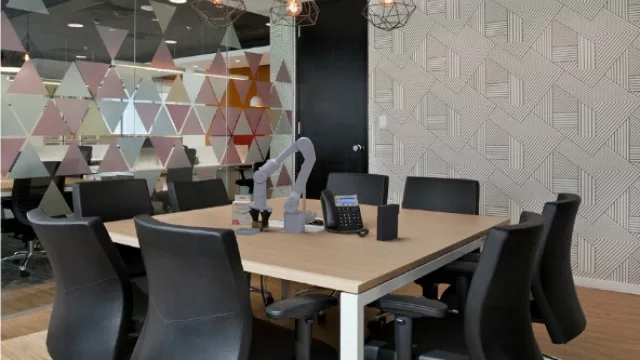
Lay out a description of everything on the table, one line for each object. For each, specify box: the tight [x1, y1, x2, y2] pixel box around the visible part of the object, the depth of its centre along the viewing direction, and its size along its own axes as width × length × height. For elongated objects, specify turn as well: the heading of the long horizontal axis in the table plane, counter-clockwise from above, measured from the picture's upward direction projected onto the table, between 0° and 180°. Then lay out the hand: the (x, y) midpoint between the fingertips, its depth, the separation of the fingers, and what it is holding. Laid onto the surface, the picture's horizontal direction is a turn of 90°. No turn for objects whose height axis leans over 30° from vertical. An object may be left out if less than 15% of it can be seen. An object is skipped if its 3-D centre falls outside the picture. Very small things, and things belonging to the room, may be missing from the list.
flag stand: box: [296, 164, 318, 225], centre depth 287 cm, size 13×13×30 cm
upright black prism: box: [376, 203, 400, 242], centre depth 243 cm, size 11×4×15 cm, turn 135°
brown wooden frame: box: [251, 220, 270, 230], centre depth 260 cm, size 7×6×3 cm
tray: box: [234, 227, 261, 236], centre depth 252 cm, size 10×10×2 cm
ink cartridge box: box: [231, 194, 252, 226], centre depth 277 cm, size 9×5×15 cm, turn 84°
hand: (260, 225), depth 259 cm, fingers closed on brown wooden frame, 6 cm apart
